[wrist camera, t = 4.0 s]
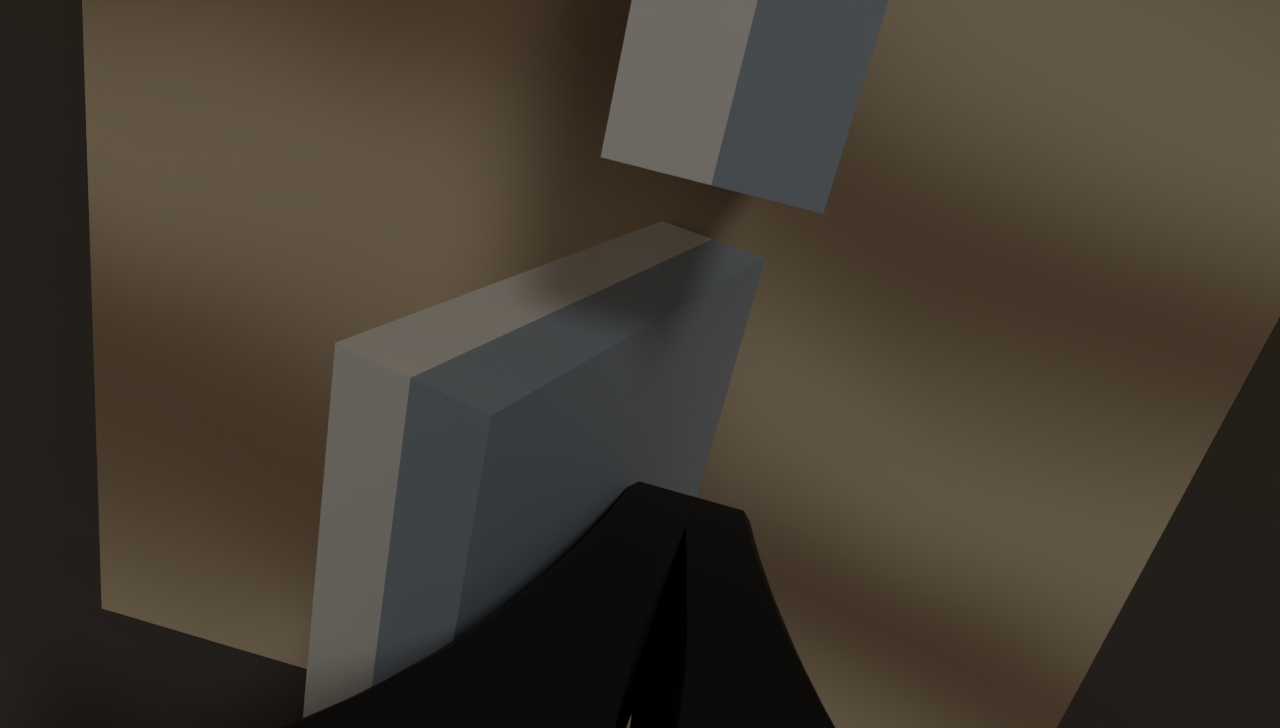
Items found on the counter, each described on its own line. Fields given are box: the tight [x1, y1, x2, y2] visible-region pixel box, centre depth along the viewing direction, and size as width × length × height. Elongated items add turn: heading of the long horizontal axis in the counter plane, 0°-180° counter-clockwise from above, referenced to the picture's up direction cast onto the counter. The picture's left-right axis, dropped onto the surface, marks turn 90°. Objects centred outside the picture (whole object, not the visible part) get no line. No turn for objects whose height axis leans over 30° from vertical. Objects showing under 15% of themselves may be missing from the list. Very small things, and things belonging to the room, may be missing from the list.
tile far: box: [303, 221, 765, 718], centre depth 11 cm, size 6×2×6 cm, turn 168°
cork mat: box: [82, 0, 1280, 728], centre depth 12 cm, size 22×16×1 cm
